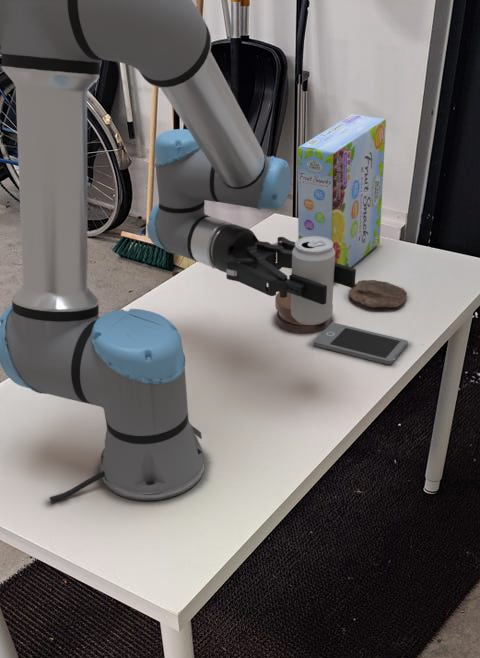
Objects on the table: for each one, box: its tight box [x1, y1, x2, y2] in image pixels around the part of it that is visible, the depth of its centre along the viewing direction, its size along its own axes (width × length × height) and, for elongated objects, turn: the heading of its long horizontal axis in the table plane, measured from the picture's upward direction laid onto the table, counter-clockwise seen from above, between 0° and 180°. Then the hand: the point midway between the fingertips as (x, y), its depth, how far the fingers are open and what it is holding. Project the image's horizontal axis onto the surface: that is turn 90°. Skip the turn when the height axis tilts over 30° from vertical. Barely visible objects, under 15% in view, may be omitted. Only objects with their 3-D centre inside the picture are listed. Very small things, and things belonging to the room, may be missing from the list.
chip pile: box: [274, 292, 334, 334], centre depth 158 cm, size 10×10×4 cm
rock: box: [348, 279, 408, 308], centre depth 165 cm, size 11×12×3 cm
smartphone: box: [312, 322, 408, 365], centre depth 152 cm, size 15×8×1 cm, turn 60°
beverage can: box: [291, 236, 335, 325], centre depth 130 cm, size 6×6×12 cm
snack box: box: [297, 113, 387, 268], centre depth 170 cm, size 22×9×26 cm, turn 147°
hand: (339, 286), depth 127 cm, fingers closed on beverage can, 6 cm apart
